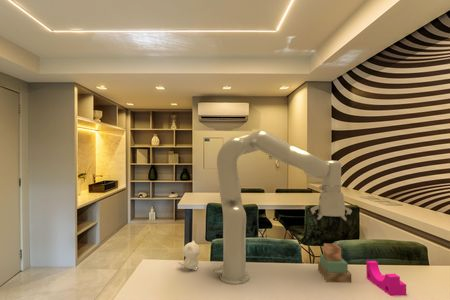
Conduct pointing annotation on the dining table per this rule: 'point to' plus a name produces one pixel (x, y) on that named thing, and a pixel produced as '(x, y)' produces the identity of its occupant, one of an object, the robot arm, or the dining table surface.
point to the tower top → (334, 265)
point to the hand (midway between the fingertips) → (330, 228)
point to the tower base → (334, 275)
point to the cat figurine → (190, 255)
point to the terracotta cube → (332, 252)
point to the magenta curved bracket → (385, 280)
